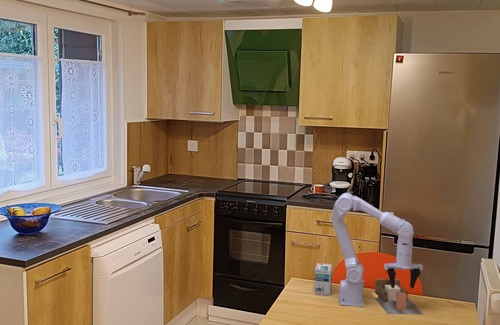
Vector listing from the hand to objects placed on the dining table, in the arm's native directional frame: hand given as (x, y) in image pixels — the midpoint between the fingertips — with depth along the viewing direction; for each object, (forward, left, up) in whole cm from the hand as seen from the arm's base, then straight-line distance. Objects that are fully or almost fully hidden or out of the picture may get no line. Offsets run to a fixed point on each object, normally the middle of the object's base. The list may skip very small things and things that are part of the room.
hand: (402, 287), depth 211 cm
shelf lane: (-1, +6, -9) cm, 11 cm away
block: (-1, +6, -8) cm, 10 cm away
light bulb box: (-30, +15, -9) cm, 35 cm away
